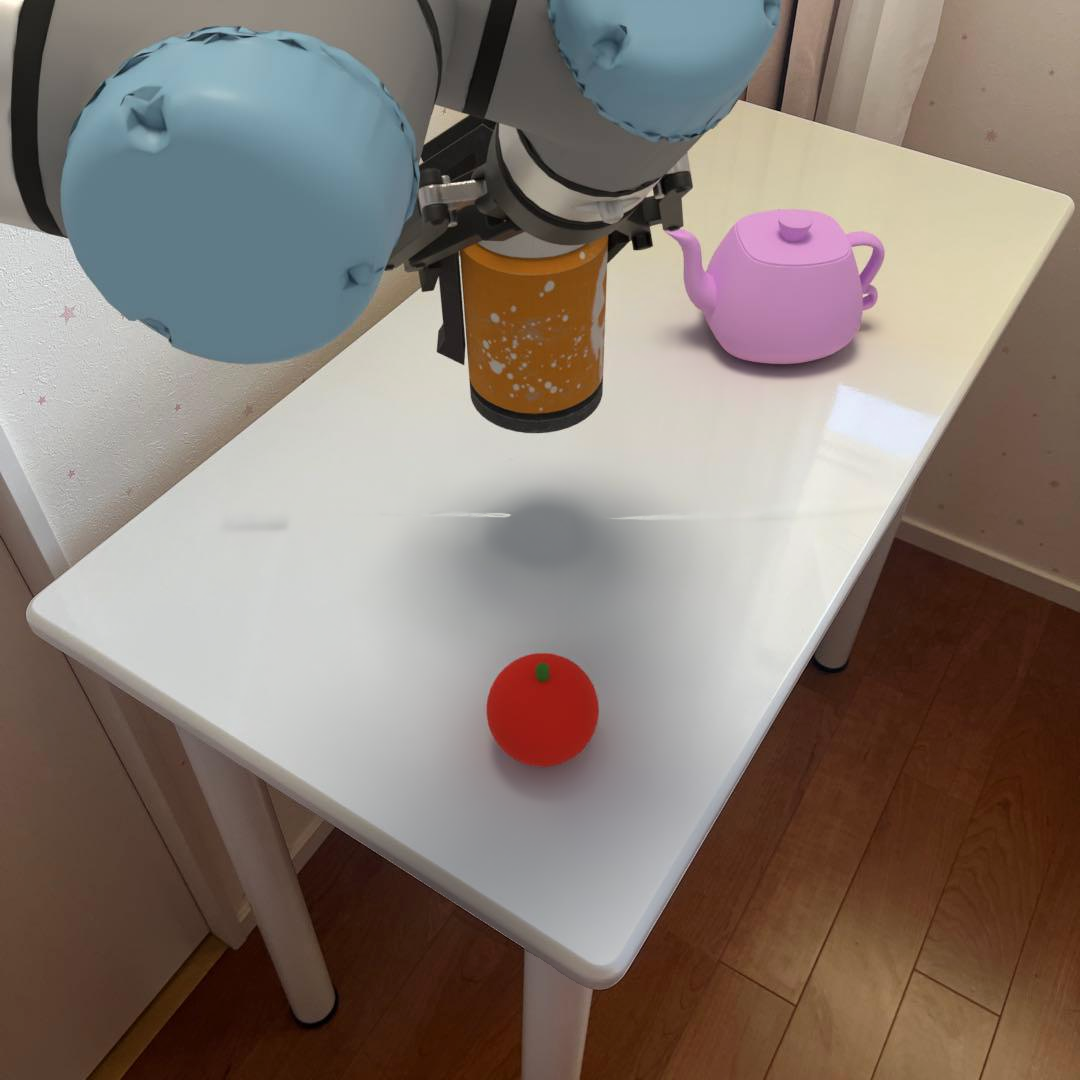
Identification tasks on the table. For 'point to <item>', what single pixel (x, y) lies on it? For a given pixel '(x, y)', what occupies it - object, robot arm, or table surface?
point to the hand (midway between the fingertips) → (510, 258)
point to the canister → (521, 310)
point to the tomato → (542, 709)
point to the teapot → (782, 285)
